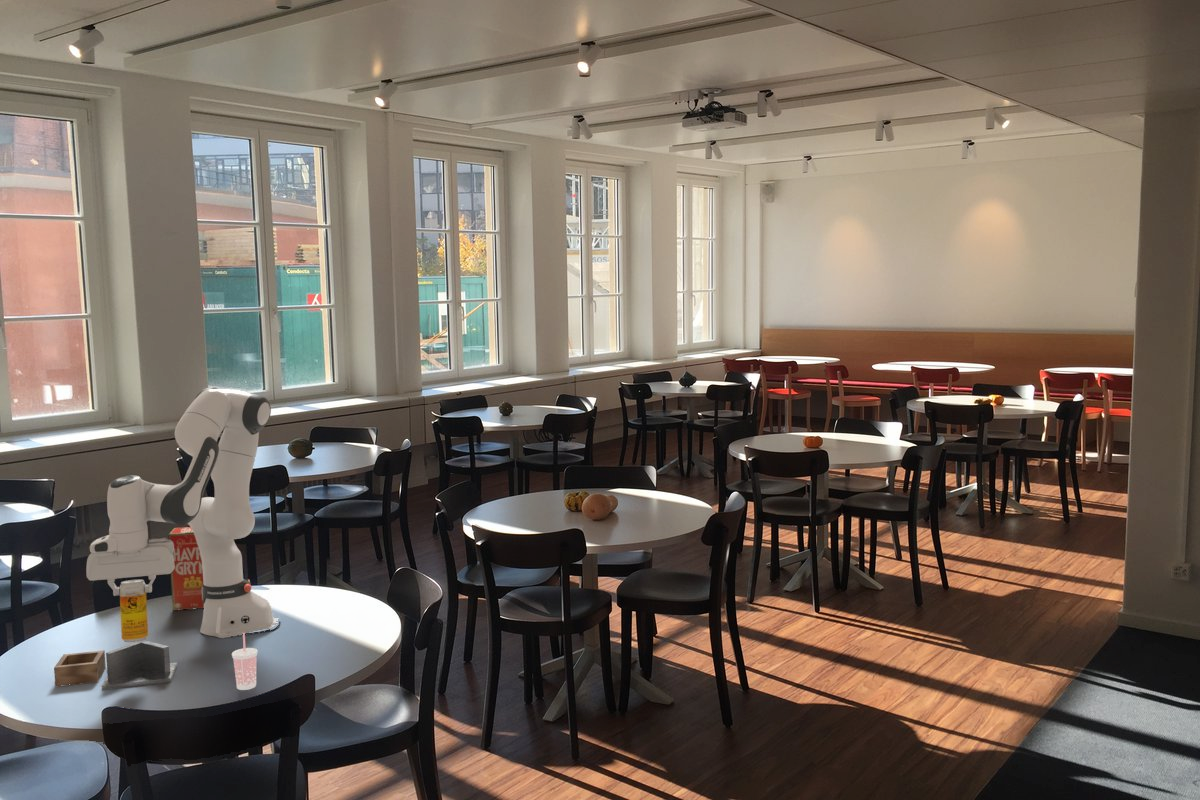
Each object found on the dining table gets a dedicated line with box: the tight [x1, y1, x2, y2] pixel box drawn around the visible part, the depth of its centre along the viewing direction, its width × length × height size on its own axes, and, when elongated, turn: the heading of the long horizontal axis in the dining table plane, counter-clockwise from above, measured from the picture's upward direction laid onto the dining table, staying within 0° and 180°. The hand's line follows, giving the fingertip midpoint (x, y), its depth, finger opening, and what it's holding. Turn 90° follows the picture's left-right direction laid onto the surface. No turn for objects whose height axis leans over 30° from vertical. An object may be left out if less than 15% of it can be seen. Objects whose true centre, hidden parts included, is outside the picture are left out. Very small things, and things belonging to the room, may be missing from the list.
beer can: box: [118, 579, 149, 643], centre depth 250 cm, size 6×6×15 cm
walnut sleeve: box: [53, 649, 107, 687], centre depth 254 cm, size 10×10×5 cm
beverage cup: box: [231, 633, 258, 691], centre depth 246 cm, size 6×6×14 cm
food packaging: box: [167, 526, 204, 611], centre depth 313 cm, size 13×9×25 cm
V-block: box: [101, 640, 178, 690], centre depth 253 cm, size 16×12×8 cm
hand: (132, 593), depth 250 cm, fingers closed on beer can, 6 cm apart
